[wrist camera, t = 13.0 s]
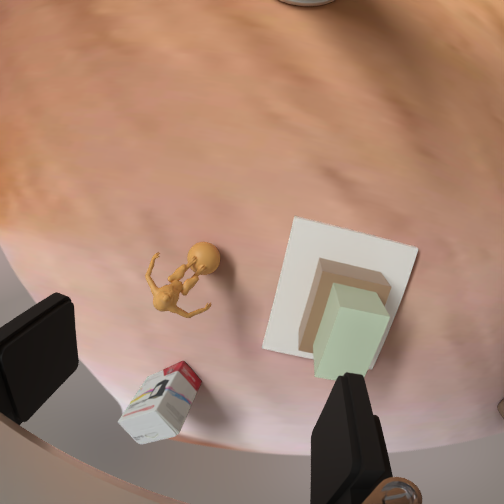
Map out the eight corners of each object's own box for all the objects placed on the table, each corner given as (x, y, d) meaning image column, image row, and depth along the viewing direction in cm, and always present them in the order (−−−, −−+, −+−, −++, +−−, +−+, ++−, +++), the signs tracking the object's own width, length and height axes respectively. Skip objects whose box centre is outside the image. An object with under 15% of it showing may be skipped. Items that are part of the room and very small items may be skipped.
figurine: (242, 266, 41) (221, 306, 29) (210, 296, 42) (181, 342, 31) (194, 220, 40) (155, 242, 29) (165, 252, 42) (122, 284, 30)
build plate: (294, 215, 38) (294, 225, 32) (415, 246, 37) (433, 260, 31) (262, 343, 43) (257, 369, 37) (370, 364, 42) (378, 391, 36)
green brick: (333, 282, 33) (340, 306, 28) (376, 292, 33) (390, 316, 27) (312, 345, 36) (314, 376, 30) (353, 353, 35) (360, 384, 30)
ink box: (184, 359, 46) (156, 409, 35) (203, 382, 47) (180, 435, 35) (146, 376, 48) (115, 422, 37) (164, 397, 49) (138, 445, 38)
